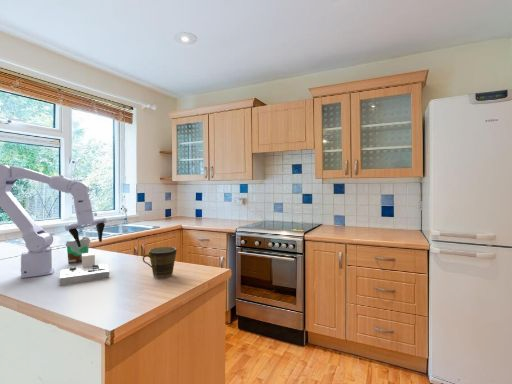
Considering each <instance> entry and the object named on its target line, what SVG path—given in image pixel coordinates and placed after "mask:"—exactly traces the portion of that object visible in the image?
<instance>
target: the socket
mask: <svg viewBox="0 0 512 384" xmlns="http://www.w3.org/2000/svg"><path fill="white" fill-rule="evenodd" d="M109 278H110V271H109V268H108V265H107V264H106V263H105V264H99V263H97V264H96V263H95V265H93V266H87V267H82V266H80V267H76V266H73V267H69V268H67V269H66V268H64V269H61V270H60V274H59V286H65V285H72V284H79V283H80V284H81V283H86V282H92V281H98V280H99V281H100V280H105V279H109Z"/></svg>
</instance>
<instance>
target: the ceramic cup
mask: <svg viewBox="0 0 512 384" xmlns="http://www.w3.org/2000/svg"><path fill="white" fill-rule="evenodd" d="M146 257H149V261H150V263H149V262H146V261H145V258H146ZM176 257H177V248H176V247H173V246H161V247H160V246H159V247H153V248H151V249H149V250H148V254H147V253H146V254H144V255H143V257H142V262H143V263H145V264H146V265H147V266H149V267H150V268H151V269H152V276H153V278H154V279H158V280H160V279H162V280H164V279H168V278H171V277H172V276H173V273H174V266H175V260H176Z"/></svg>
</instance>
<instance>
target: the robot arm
mask: <svg viewBox="0 0 512 384" xmlns="http://www.w3.org/2000/svg"><path fill="white" fill-rule="evenodd" d="M23 179H26V180H27V179H28V180H31V181H35V182H39V183H41V184H47V185H48V186H49V188H50V189H52V190H55V191H58V192H62V193H65V194H70V195H71V196H72V198H73V204H74V205H73V206H74V209H75V210H74V211H75V216H76V221H77V223H73V224H69V225H65V226H64V228H65V229H64V230H65V232H69V234H70V235H71V236H72V237H73V239H74V241H76V242H77V245H78V247H81V244H80V241H79V240H80V236H79V230H78V229H82V228H87V227H92V226H95V228H96V231H97V238H98V241H99V243H101V242H103V232H104V229H105V227H106V225H105V224H107V218H106V217H104V218H97V219H94V214H93V210H92V209H93V207H92V203H91V199H90V194H89V192H90V186H89V185H88V184H87V183H85V182H83V181H79V182H78V179H76V178H73V179H72V178H68V177H65V175H63V174H55V175H53V176H50V175H47V174H44V173H41V172H38V171H36V170H32V169H30V168H25V167H19V166H14V165H5V164H2V163H0V208H1V209H2V210H3V211H4V213H6V214H7V216H8V217H9V219H10V220H11V221H12V222H13V223H14V224H15V226H16V227H17V229H19V231H20V232H21V233H22V234H21V238H22V239H23V241H24V243H25V247H26V249H27V251H25V252H22V253H21V255H20V279H24V278H31V277H40V276H46V275H52V274H53V273H54V270H55V268H53V267H52V265H53V263H52V262H53V261H52V259H53V258H52V257H53V256H52V252H53V251H52V247H51V245H52V244H53V242H54V236H53V235H52V234H51V233H50V232H48V231H46V230H45V229H44V228H43V227H41V226H40V225H38V224H37V223H36V221H34V219H33V218H32V217H31V215H30V214H29V213H28V212H27V210H26V208H24V207H23V205H21V203H20V202H19V200H18V199H17V198H16V197H15V196H14V195H13V194H12V192H11V191H12V188H13V186H14V185H15V183H17V181H18V180H23Z"/></svg>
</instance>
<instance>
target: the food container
mask: <svg viewBox="0 0 512 384" xmlns="http://www.w3.org/2000/svg"><path fill="white" fill-rule="evenodd" d="M79 241H80V244H81V247H78V245H77V242H76V241H75V240H72V241H69V240H68V241H66V243H65V247H66V250H67V263H68V265H69V264H79V263H80V264H81V263H82V254H83V253H89V246H90V244H91V239H90V237H88V236H87V237H86V236H83V237H82V238H81V239H79Z"/></svg>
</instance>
